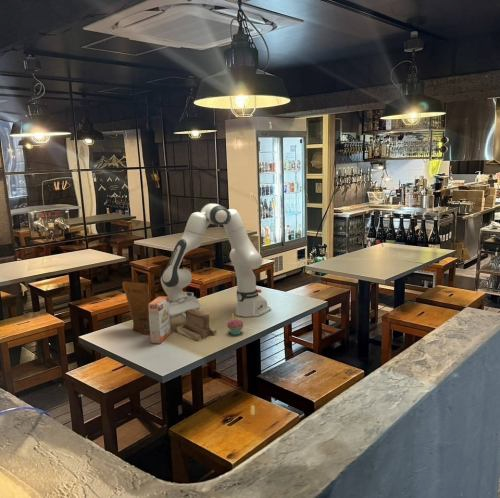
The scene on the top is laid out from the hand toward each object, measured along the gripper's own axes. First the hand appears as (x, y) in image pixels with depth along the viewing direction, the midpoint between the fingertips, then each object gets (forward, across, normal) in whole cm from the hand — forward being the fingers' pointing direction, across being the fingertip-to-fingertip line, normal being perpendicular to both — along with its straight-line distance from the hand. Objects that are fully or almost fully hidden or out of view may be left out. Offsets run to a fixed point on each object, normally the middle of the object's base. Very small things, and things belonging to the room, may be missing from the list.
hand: (189, 320), depth 245 cm
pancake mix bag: (-9, -19, +18) cm, 27 cm away
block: (+10, 0, -1) cm, 10 cm away
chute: (+8, 0, 0) cm, 8 cm away
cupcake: (+19, +14, -11) cm, 26 cm away
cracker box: (+3, -17, +5) cm, 18 cm away
